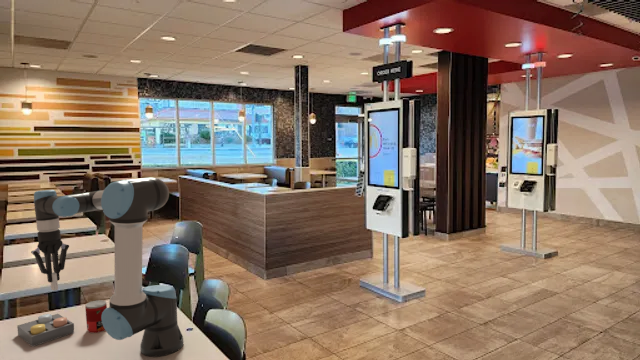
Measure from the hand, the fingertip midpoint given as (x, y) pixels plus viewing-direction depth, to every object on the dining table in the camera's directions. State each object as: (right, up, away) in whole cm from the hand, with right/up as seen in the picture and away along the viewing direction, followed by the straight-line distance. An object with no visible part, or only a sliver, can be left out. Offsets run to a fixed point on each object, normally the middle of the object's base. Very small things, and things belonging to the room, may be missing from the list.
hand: (54, 289), depth 173 cm
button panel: (-7, -20, +6) cm, 22 cm away
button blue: (-10, -17, +10) cm, 22 cm away
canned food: (+12, -19, +10) cm, 24 cm away
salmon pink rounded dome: (-1, -17, +6) cm, 18 cm away
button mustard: (-6, -18, 0) cm, 19 cm away
